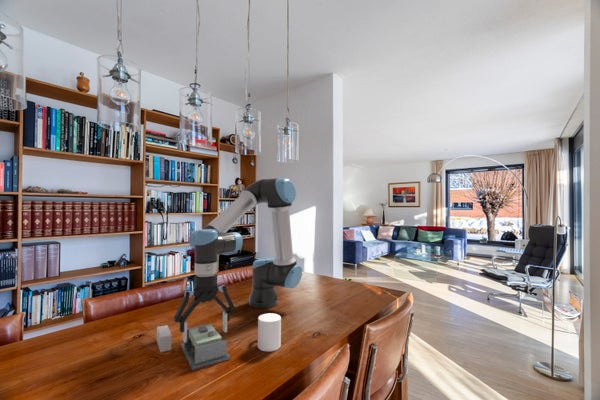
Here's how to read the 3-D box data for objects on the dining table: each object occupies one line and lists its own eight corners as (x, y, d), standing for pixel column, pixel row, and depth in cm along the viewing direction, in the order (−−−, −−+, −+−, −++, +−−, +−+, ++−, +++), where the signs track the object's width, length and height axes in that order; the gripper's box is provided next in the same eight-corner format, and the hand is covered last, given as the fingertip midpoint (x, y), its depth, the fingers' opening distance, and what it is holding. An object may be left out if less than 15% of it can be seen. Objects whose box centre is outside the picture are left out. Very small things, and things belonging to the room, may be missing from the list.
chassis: (180, 345, 101) (181, 329, 102) (214, 337, 108) (214, 322, 108) (192, 370, 86) (192, 350, 87) (230, 359, 93) (230, 340, 93)
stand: (156, 340, 105) (157, 327, 105) (166, 338, 107) (167, 325, 107) (160, 352, 97) (160, 337, 97) (171, 349, 99) (171, 335, 99)
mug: (263, 323, 97) (250, 312, 107) (263, 354, 96) (250, 339, 107) (285, 318, 101) (270, 308, 111) (284, 348, 101) (270, 335, 111)
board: (188, 336, 100) (188, 326, 100) (211, 331, 105) (211, 322, 105) (197, 351, 90) (197, 340, 90) (221, 344, 95) (221, 334, 95)
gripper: (168, 282, 88) (168, 350, 88) (244, 271, 102) (243, 330, 101) (164, 276, 94) (164, 340, 94) (236, 267, 108) (236, 323, 108)
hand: (205, 335), depth 98 cm, fingers open, 13 cm apart
